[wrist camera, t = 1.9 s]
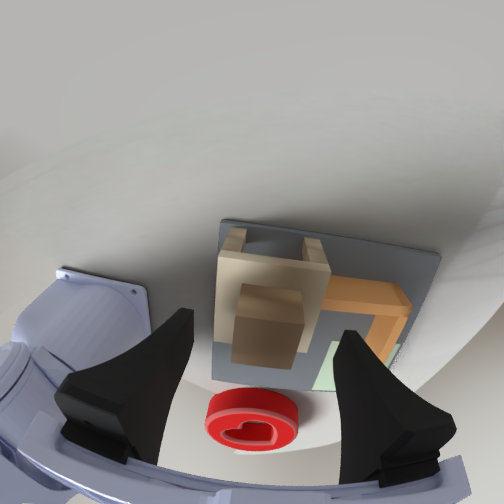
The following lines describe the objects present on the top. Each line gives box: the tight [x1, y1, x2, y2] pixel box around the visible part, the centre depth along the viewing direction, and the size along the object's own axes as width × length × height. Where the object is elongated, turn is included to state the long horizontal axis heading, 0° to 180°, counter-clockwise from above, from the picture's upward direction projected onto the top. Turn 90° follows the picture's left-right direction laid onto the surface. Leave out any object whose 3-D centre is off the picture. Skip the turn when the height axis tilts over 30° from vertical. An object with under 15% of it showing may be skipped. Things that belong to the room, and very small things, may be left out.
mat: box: [212, 220, 441, 392], centre depth 21 cm, size 16×15×1 cm
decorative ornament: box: [205, 388, 298, 451], centre depth 26 cm, size 10×10×3 cm
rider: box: [213, 227, 331, 370], centre depth 15 cm, size 6×6×7 cm
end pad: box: [312, 340, 400, 391], centre depth 22 cm, size 6×6×1 cm
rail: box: [321, 275, 413, 364], centre depth 19 cm, size 11×11×3 cm
